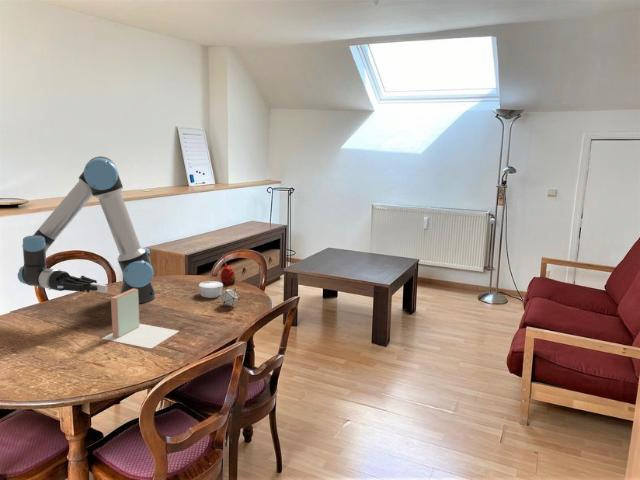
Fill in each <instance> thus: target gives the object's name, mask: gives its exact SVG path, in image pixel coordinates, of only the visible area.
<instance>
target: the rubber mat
mask: <svg viewBox="0 0 640 480" xmlns="http://www.w3.org/2000/svg"><path fill="white" fill-rule="evenodd" d="M139 326H140V327H138V328H136V329H134V330H132V331H130V332H129V333H127V334H125V335H123V336H121V337H119V338H114V337H113V332H112V333H109V334H108V335H106V336H104V337H102V338H101V340H106V341H112V342H117V343H121V344H127V345H132V346H137V347H141V348H146V349H152V348H154V347H156V346H158V345H159V344H161V343H163V342H164V341H166V340H168V339H169V338H171V337H173V336H174V335H176V334H177V333H179V332H180V330H176V329H171V328H166V327H159V326H155V325H154V326H153V325H149V324H144V323H139Z"/></svg>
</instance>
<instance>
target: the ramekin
mask: <svg viewBox="0 0 640 480" xmlns="http://www.w3.org/2000/svg"><path fill="white" fill-rule="evenodd" d="M223 287H224V284H223V283H222V281H221V282H220V281H214V280H213V281H212V280H209V281H202V282H200V283H198V289H199V294H200V295H201V297H202V298H205V299H206V298H207V299H208V298H209V299H215V298H218V295H219V297H220V295H221V294H222V293H223Z"/></svg>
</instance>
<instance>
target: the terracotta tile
mask: <svg viewBox="0 0 640 480" xmlns="http://www.w3.org/2000/svg"><path fill="white" fill-rule="evenodd" d="M110 306H111V307H110V310H111V328H112V329H111V330H112V333H113V337H114V338H119V337H121V336H123V335H125V334H127V333H129V332H130V331H132V330H134V329H136V328H138V327H140V326H139V324H140V303H139V298H138V289H134V288H133V289H131V290H128V291H126V292H123V293H121V294H120V293H119V294H117V295H115V296H112V297H110Z"/></svg>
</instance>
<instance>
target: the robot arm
mask: <svg viewBox="0 0 640 480" xmlns="http://www.w3.org/2000/svg"><path fill="white" fill-rule="evenodd" d="M123 189H124V186H123V183H122V181H121V178H120V175H119V172H118V168H117V165H116V163H115V162H113V160H111V158H108V157H106V156H95V157H92V158H90V160H88V162H87V163H86V164H85V167H84V169H83V171H82V173H81V174H80V175H79V176H78V181H77V183H76V184H75V185H74V186H73V188H72V189H71V190H70V191H69V192H68V194H67V195H66V196H65V197H64V198H63V199H62V200H61V202H60V203H59V204H58V205H57V207H56V208H55V209H54V210H53V211H52V213H51V214H50V215H49V216H48V217H47V218H46V219H45V220H44V221H43V223H42V224H41V225H40V227H39V228H38V229H37V230H36V231H35V233H33V235H27V236H24V237H23V238H22V245H21V246H22V247H21V248H22V253H23V254H22V255H23V266H20V268H19V269H18V273H17V279H18V281H19V282H20V283H22V284H24V285H27V286H33V287H37V288H38V287H39V288H45V289H48V290H54V291H59V292H62V291H63V292H64V291H68V292H69V291H71V292H82V293H84V292H85V291H86V293H87V294H89V293H90V291H92V292H97V293H102V294H105V293H108V292H109V290H108V289H109V287H108V284H104V283H98V280H96V279H92V278H89V277H87V276H85V275H81V276H80V277H77V276H74V275H70V273H69V272H67V271H65V270H60V269H59V270H58V269H54V268H47V251H48V249H49V248H50V247H51V246H52V245H53V244H54V242H55V241H56V239H58V237H59V236H60V235H61V233H63V232H64V230H65V229H66V228H67V227H68V225H69V224H70V223H72V221H73V220H74V219H75V217H76V216H77V215H78V214H79V213H80V211H81V210H83V208H84V207H85V206H86V204H87V203H88V202H89V201H90V200H91V199H92V197H94V198H96V199H97V200H98V201H99V204H100V207H101V209H102V212H103V213H104V214H103V215H104V217H105V220H106V222H107V225H108V228H109V230H110V233H111V235H112V238H113V241H114V244H115V245H116V248H117V251H118V254H119V255H118V257H117V262H118V265H119V268H120V269H121V273H122V283H121V284H122V285H121V288H120V291H119V294H121V293H123V292H126V291H128V290H131V289H133V288H134V289H138V298H139V304H144V303H147V302H151V301H153V300H155V298H156V291H155V288H154V286H153V284H152V280H153V278H154V274H155V273H154V272H155V271H154V267H153V265H152V262H151V251H150V248H147V247H141V245H140V242H139V239H138V235H137V234H136V231H135V228H134V226H133V225H134V224H133V222H132V219H131V218H130V215H129V212H128V209H127V206H126V204H125V200H124V198H123V195H122V190H123Z"/></svg>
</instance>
